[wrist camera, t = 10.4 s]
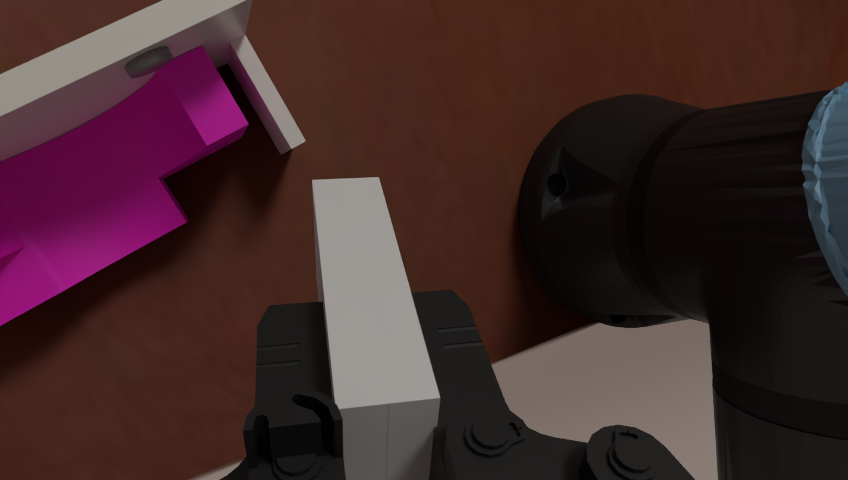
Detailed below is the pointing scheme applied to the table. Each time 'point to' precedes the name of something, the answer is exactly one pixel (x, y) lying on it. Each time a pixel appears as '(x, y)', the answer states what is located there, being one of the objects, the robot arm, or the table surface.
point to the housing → (133, 72)
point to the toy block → (108, 182)
